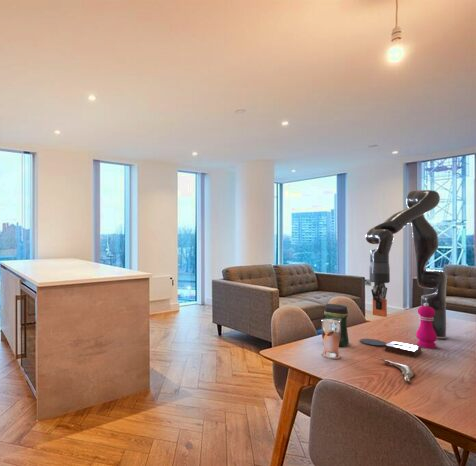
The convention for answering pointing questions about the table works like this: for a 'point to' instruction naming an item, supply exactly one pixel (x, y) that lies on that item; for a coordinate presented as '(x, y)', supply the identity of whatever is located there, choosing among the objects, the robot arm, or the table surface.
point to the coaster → (373, 342)
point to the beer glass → (331, 338)
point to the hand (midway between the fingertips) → (379, 309)
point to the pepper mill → (426, 327)
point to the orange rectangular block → (383, 311)
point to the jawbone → (405, 369)
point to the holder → (403, 348)
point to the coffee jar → (338, 319)
